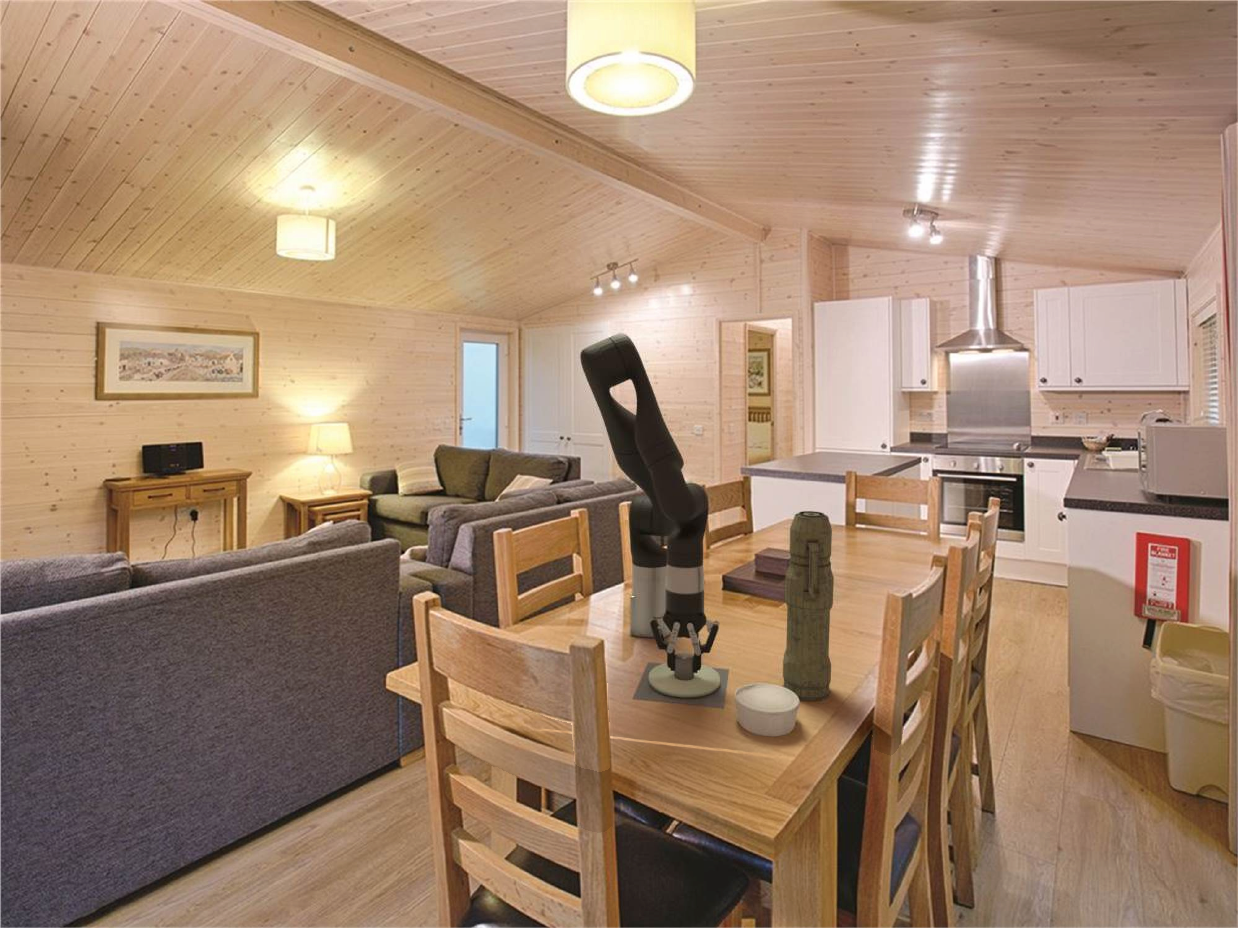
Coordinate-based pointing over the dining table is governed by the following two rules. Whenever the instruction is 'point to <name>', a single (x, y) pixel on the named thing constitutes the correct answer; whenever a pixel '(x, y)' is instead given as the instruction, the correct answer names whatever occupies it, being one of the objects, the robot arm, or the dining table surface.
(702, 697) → the mat
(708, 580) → the dining table surface
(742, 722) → the ramekin
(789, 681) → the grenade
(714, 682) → the lid
